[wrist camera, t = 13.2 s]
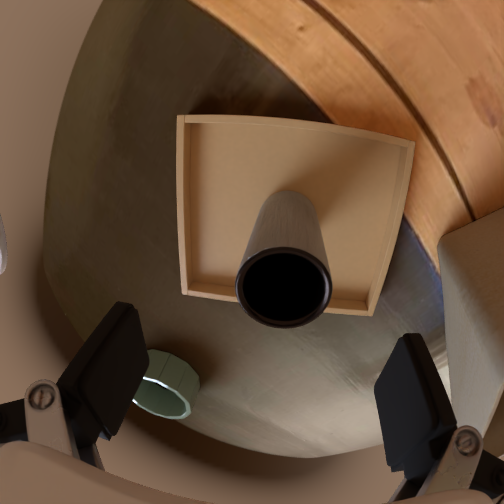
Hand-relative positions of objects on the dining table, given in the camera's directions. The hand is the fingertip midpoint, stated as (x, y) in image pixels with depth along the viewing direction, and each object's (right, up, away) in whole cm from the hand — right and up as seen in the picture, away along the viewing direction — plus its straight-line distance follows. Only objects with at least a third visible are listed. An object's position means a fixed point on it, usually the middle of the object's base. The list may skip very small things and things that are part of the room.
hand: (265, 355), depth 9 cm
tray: (+3, +6, +13) cm, 15 cm away
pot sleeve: (-12, -13, +25) cm, 30 cm away
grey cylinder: (+2, +6, +13) cm, 14 cm away
